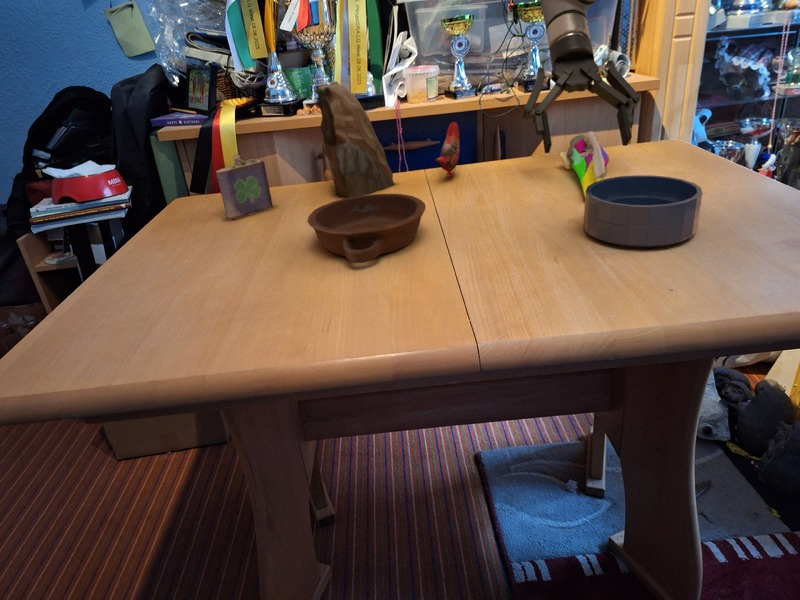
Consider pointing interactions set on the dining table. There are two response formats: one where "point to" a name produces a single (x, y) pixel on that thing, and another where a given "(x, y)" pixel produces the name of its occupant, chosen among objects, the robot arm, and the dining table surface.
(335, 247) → the dish
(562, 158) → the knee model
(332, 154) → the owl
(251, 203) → the flask
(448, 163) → the decorative bird figurine
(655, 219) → the bowl
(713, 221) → the dining table surface
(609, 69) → the robot arm
